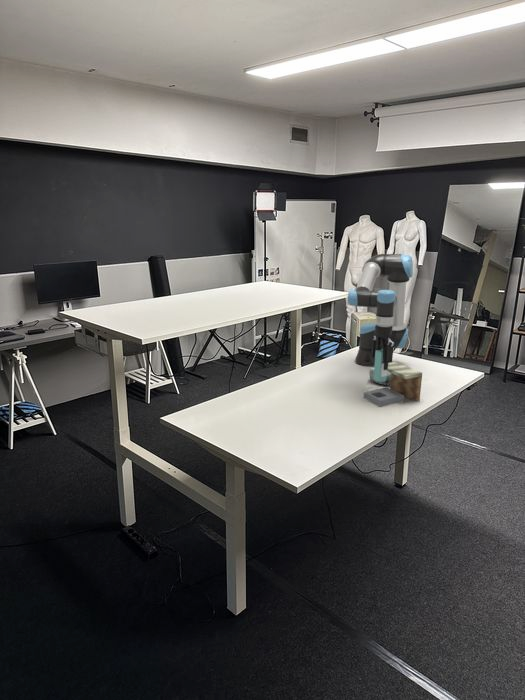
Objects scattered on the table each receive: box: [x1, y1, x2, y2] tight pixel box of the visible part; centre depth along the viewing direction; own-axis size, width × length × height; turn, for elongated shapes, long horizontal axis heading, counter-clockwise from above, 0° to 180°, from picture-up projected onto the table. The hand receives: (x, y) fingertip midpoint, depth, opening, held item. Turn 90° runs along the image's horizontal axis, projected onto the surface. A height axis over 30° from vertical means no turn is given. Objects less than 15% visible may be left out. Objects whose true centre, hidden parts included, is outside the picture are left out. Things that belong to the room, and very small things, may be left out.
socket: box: [363, 386, 405, 408], centre depth 222 cm, size 12×14×3 cm
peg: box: [373, 349, 386, 382], centre depth 216 cm, size 4×4×14 cm
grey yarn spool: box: [368, 366, 391, 386], centre depth 243 cm, size 14×10×10 cm
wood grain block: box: [387, 361, 423, 402], centre depth 225 cm, size 18×10×14 cm, turn 27°
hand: (380, 374), depth 217 cm, fingers closed on peg, 4 cm apart
